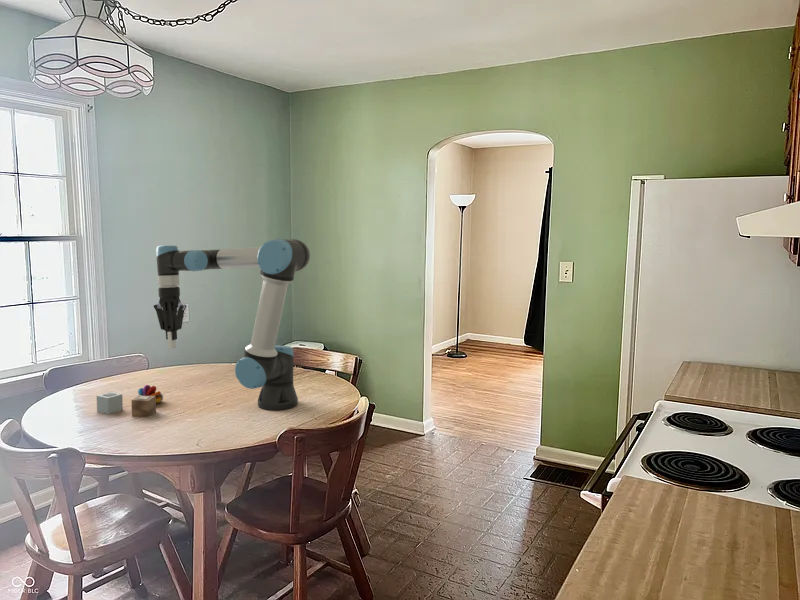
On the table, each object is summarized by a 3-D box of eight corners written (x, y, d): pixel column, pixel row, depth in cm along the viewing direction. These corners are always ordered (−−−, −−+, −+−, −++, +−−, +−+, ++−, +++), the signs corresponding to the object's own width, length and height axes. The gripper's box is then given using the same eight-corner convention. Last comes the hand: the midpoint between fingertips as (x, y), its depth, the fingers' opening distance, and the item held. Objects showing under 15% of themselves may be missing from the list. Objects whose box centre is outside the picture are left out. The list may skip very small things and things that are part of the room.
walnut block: (156, 412, 215) (155, 395, 215) (148, 417, 209) (148, 400, 209) (139, 411, 216) (139, 395, 215) (131, 416, 210) (131, 399, 209)
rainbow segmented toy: (153, 408, 220) (153, 389, 219) (130, 406, 222) (129, 387, 221) (167, 401, 229) (166, 383, 228) (144, 400, 230) (144, 381, 230)
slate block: (122, 410, 217) (122, 393, 216) (108, 414, 211) (107, 397, 211) (111, 407, 219) (111, 391, 219) (97, 411, 214) (96, 395, 213)
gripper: (190, 285, 225) (192, 347, 227) (160, 285, 228) (163, 345, 231) (177, 287, 218) (180, 350, 220) (147, 287, 221) (150, 349, 223)
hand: (172, 348), depth 225 cm, fingers closed
